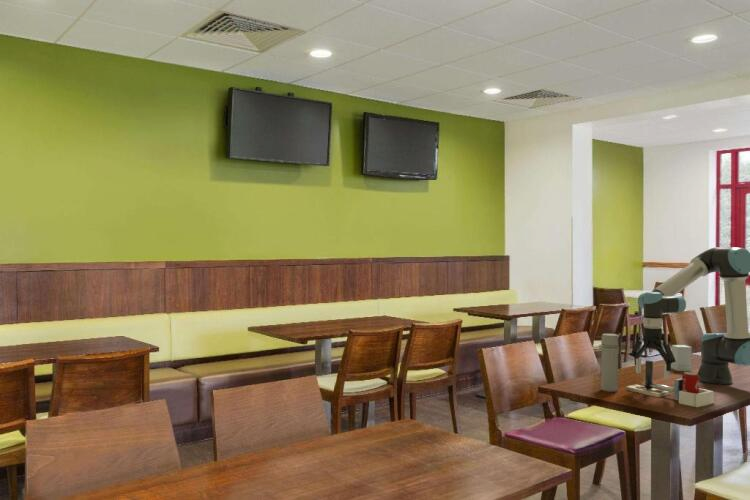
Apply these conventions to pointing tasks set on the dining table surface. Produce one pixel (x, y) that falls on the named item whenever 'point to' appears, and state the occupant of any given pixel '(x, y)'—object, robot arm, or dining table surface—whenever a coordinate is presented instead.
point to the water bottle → (609, 362)
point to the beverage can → (690, 382)
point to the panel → (647, 390)
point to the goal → (696, 398)
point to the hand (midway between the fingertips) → (652, 375)
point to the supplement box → (681, 357)
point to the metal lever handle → (649, 384)
